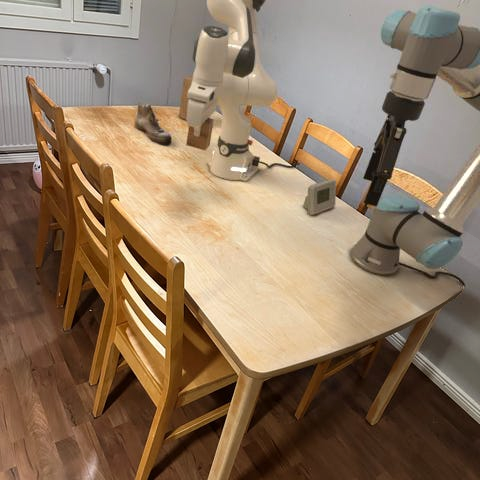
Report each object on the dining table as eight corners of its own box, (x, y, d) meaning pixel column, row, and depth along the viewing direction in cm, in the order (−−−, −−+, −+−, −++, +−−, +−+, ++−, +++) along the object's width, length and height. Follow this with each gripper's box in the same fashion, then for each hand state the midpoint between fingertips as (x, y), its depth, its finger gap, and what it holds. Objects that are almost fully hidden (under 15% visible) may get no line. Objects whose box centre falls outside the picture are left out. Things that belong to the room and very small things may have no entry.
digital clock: (309, 217, 160) (317, 191, 154) (294, 205, 166) (301, 179, 160) (340, 211, 169) (349, 186, 163) (324, 200, 175) (332, 175, 169)
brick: (191, 140, 142) (194, 114, 137) (209, 145, 141) (214, 119, 136) (186, 145, 137) (189, 118, 133) (205, 150, 137) (209, 123, 132)
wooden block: (194, 123, 220) (199, 83, 210) (178, 117, 224) (183, 77, 213) (205, 120, 228) (211, 81, 218) (190, 114, 232) (195, 75, 221)
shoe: (175, 145, 192) (178, 118, 185) (151, 146, 186) (153, 118, 180) (154, 124, 209) (157, 98, 202) (132, 124, 203) (133, 97, 197)
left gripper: (206, 78, 138) (200, 120, 146) (185, 92, 121) (179, 140, 129) (225, 83, 138) (218, 125, 145) (207, 98, 121) (200, 145, 128)
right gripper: (385, 79, 97) (353, 167, 108) (392, 105, 76) (352, 210, 87) (418, 87, 96) (383, 175, 108) (435, 116, 75) (389, 221, 87)
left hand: (200, 132), depth 137 cm, fingers closed on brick, 5 cm apart
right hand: (369, 191), depth 98 cm, fingers open, 13 cm apart
